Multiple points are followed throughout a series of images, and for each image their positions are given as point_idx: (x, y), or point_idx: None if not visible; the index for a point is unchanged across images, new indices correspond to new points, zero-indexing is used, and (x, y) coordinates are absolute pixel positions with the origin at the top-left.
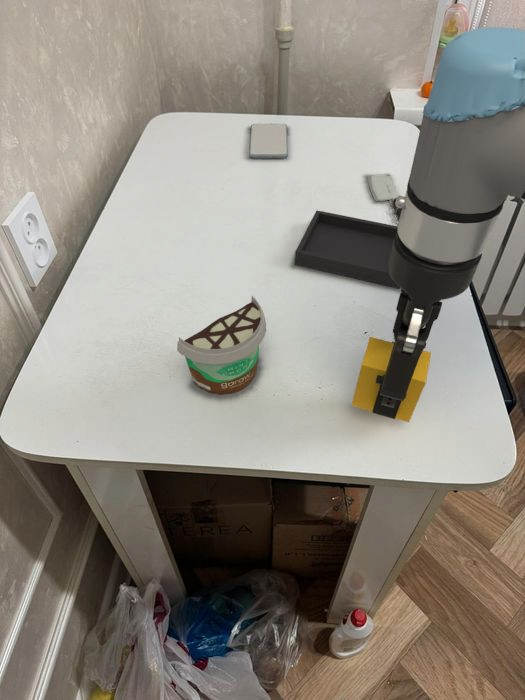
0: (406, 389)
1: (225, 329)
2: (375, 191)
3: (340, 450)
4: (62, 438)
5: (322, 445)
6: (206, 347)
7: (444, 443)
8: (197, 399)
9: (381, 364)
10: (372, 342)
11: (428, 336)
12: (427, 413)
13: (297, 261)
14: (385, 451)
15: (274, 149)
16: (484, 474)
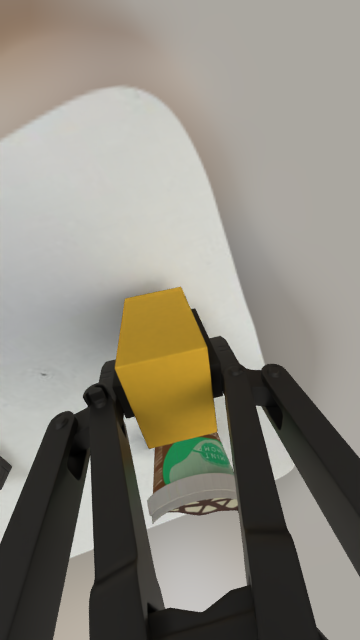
0: (308, 399)
1: (207, 505)
2: None
3: (225, 324)
4: (284, 457)
5: (227, 340)
6: (236, 500)
7: (155, 215)
8: (224, 430)
9: (202, 416)
10: (160, 442)
11: (301, 570)
12: (118, 257)
13: (7, 472)
14: (206, 283)
15: None
16: (178, 131)
